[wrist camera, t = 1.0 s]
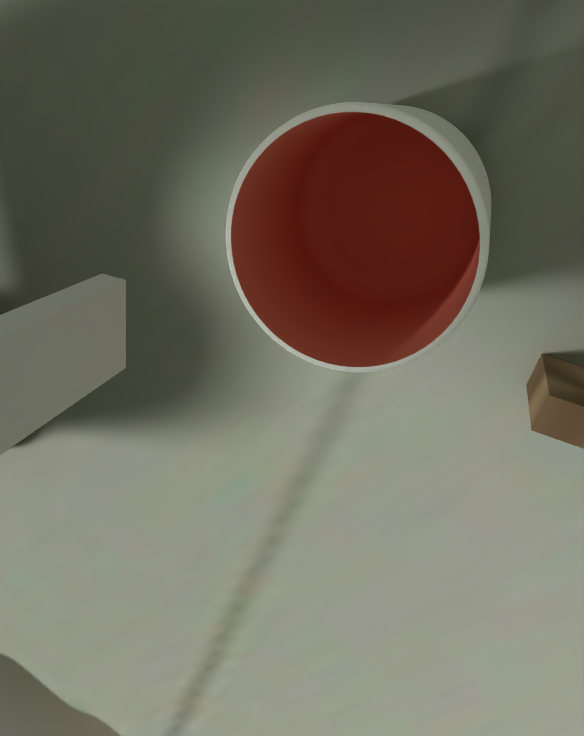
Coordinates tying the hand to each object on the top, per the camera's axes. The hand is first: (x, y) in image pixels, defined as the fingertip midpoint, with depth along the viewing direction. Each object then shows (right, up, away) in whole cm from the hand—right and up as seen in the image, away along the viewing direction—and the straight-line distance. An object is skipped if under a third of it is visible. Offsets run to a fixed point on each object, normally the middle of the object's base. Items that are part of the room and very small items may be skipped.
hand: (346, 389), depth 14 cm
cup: (+4, +9, +15) cm, 18 cm away
